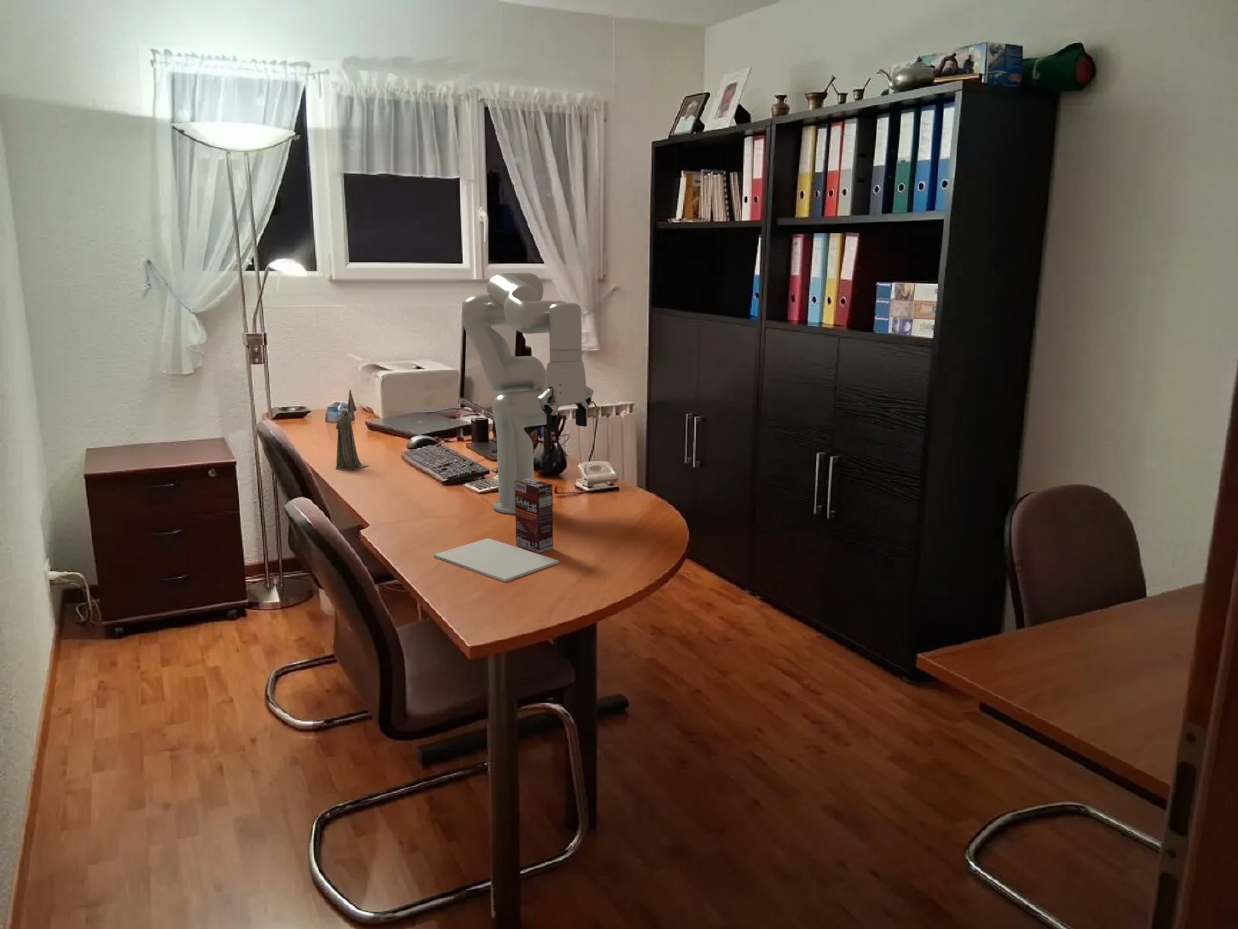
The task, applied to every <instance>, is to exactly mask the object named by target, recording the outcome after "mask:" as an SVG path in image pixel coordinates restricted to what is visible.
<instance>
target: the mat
mask: <svg viewBox="0 0 1238 929" xmlns="http://www.w3.org/2000/svg"><path fill="white" fill-rule="evenodd" d="M433 558H435V559H438V560H442V561H444V562H447V563H450V564H452V565H455V566H458V567H462V568H464V569H466V570H469V571H472V572H475V573H478V574H481V575H483V576H487V577H488V578H491V579H494V580H497V581H501V582H503V583H507V582H510V581H512V580H514V579H517V578H518V579H519V578H521V577H523V576H526V575H528V574H532V573H535V572H537V571H541V570H543V569H546V568H548V567H551V566H554V565H557V564H560V561H559V559H555V558H552V557H549V556H547V555H543V554H540V553H537V552H534V551H531V550H530V551H529V550H528V549H527V550H526V549H525V548H524V549H523V548H519V547H517V546H513V545H511V544H508V543H504V542H501V541H498V540H494V539H491V538H488V537H487V538H484V539H480V540H478V541H474V542H471V543H467V544H464V545H460V546H457V547H453V548H452V549H447V550H445V551H441V552H437V553H434V554H433Z"/></svg>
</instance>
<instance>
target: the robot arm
mask: <svg viewBox="0 0 1238 929" xmlns="http://www.w3.org/2000/svg"><path fill="white" fill-rule="evenodd" d="M486 291H487V294H478V295H473V296H470V297H469V298H466V300H464V301H463V302H464V303H462V304H463V305H462V308H461V318H462V324H463V328H464V330H465V333H466V336H467V337H468V339H469V340H470V342H471V344H472V345H473V347H474V348H475V351H477V354H478V357H479V360H480V364H481V366H482V368H483V372H484V375H485V378H486V380H487V382H488V385H489V387H490V389H491V390H492V392H494V393H500V394H498V395H497V396H496V397H495V398H494V399H493V402H492V406H491V407H492V415H493V421H494V426H495V434H496V435H495V436H496V446H497V447H496V451H497V452H496V454H497V481H498V482H497V485H498V486H497V487H498V500H496V501H494V502H493V503H492V508H493V510H494V511H496V512H499V513H503V514H515V515H516V513H515V481H517V480H520V479H525V478H532V479H535V477H534V444H533V441H532V438H531V436H530V435H529V434H528V433H527V432H526V430H525V428H528V427H535V426H536V427H537V426H545V425H546V431H547V432H552V433H557V432H559V418H558V414H559V408H560V407H567V406H572V405H573V406H574V405H575V406H576V407H577V408H576V409H575V425H576V426H578V427H584V428H585V427H588V426H587V425H588V414H587V412H588V411H587V410H589V409H590V408H589V406H590V404H591V402H592V398H593V395H594V389H592V388H591V387H588V385H587V377H586V370H585V364H584V361H583V355H584V350H583V347H582V346H583V345H582V343H583V342H582V340H583V339H582V338H583V337H582V336H583V334H582V333H583V332H582V330H583V329H582V327H583V326H582V308H581V306H580V304H579V303H575V302H567V301H563V300H542V299H543V296H544V286H543V283H542V280H541V279H540V277H538V275H536V274H534V273H532V272H503V273H498V274H496V275H494V276H492V277H491V278H490V279H489V280H488V283H487V285H486ZM497 326H498V327H499V326H510V327H511V328H512V329H514V330H516V331H517V332H519V333H522V334H529V335H530V334H549V362H548V363H547V364H546V368H545V366H544V364H543V362H542V361H541V360H540V359H539V358H538V357H536V356H532V355H523V356H522V355H521V356H516V355H513V353H512V352H511V349H510V346H509V344H508V341H507V340H506V339H505V338H504V336H502V334H500V333H499V332H498V331H496V330H495V329H494V328H492V327H497Z"/></svg>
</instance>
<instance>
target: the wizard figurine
mask: <svg viewBox="0 0 1238 929" xmlns="http://www.w3.org/2000/svg"><path fill="white" fill-rule="evenodd" d="M348 395H349V396H348V402H347V407H346V408H345V409H342V410H341V411H340V415H339V418H338V419H337V423H336V425H335V430H337V443H336V445H337V446H336V462H335V463H336V466H335V470H339V471H340V470H341V471H354V470H359V469H363V468H366V467H368V464H367V465H364V464H362V462H361V461H360V458H359V455H358V452H357V447H356V443H355V442H356V441H355V437H354V430H353V427H352V420H353V419H352V418H350V416H349V415H354V413H355V412H356V411H357V407H356V405H355V401H354V398H353V394H352V389H349V392H348Z"/></svg>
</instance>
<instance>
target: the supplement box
mask: <svg viewBox="0 0 1238 929" xmlns="http://www.w3.org/2000/svg"><path fill="white" fill-rule="evenodd" d="M553 498H554V497H553V484H552V483H548V482H544V481H542V480H538V479H535V478H534V479H532V478H525V479H520V480H517V481H515V513H516V514H515V540H516V541H515V545H516V546H519V547H521V548H524V549H527V550H528V551H529V550H530V551H531V552H533V553H536V554H540V553H545V552H549V551H551V550H553V549H554V536H553V535H554V532H553V531H554V527H553V526H554V525H553V524H554V522H553V520H554V519H553V516H554V515H553V514H554V513H553V511H554V508H553V506H554V505H553V502H554V501H553Z"/></svg>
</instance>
